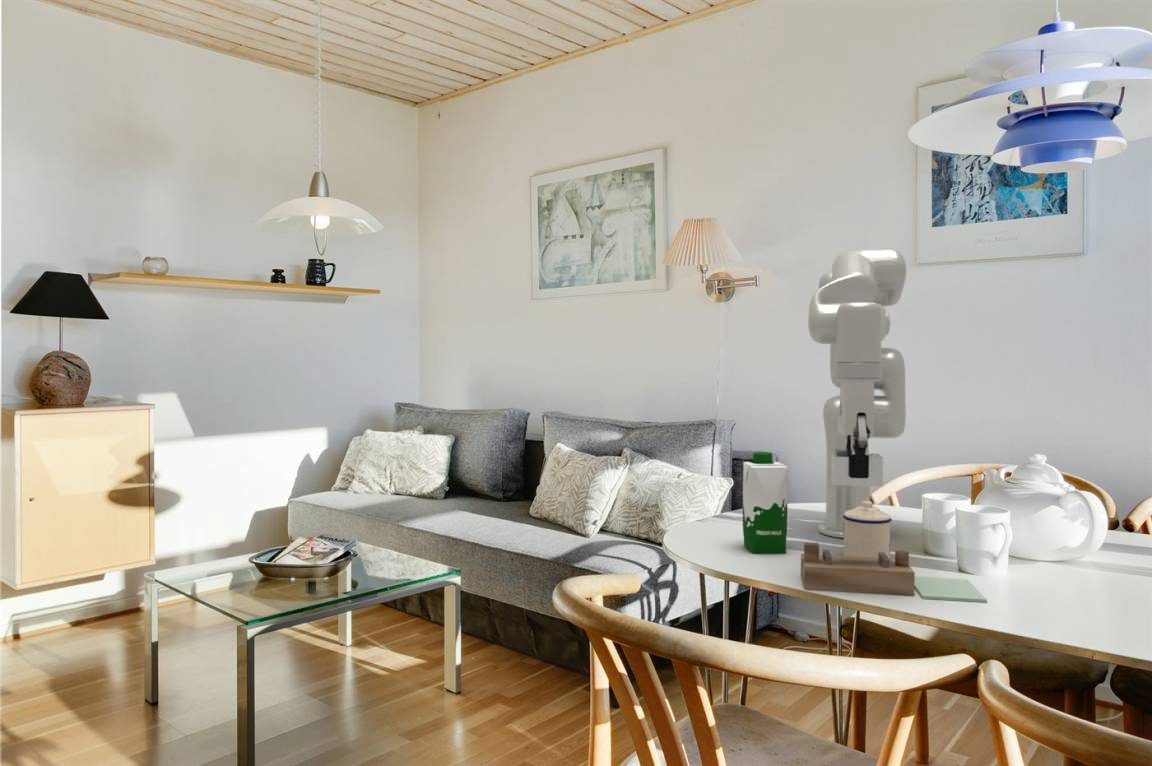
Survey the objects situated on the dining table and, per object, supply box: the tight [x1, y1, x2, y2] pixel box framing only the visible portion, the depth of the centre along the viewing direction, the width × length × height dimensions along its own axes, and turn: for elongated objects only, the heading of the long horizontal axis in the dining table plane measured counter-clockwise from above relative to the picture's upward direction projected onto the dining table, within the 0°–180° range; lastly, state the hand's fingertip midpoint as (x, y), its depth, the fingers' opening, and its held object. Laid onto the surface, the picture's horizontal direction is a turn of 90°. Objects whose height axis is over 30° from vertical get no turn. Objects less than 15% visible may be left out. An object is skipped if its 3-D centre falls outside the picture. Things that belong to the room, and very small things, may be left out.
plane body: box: [800, 541, 915, 597], centre depth 141 cm, size 9×18×7 cm, turn 78°
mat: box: [914, 575, 988, 603], centre depth 138 cm, size 12×10×1 cm
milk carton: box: [742, 451, 789, 554], centre depth 166 cm, size 9×9×20 cm
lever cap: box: [831, 449, 884, 487], centre depth 141 cm, size 5×8×6 cm, turn 78°
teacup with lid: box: [842, 500, 893, 558], centre depth 160 cm, size 12×9×12 cm
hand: (856, 474), depth 141 cm, fingers closed on lever cap, 5 cm apart
